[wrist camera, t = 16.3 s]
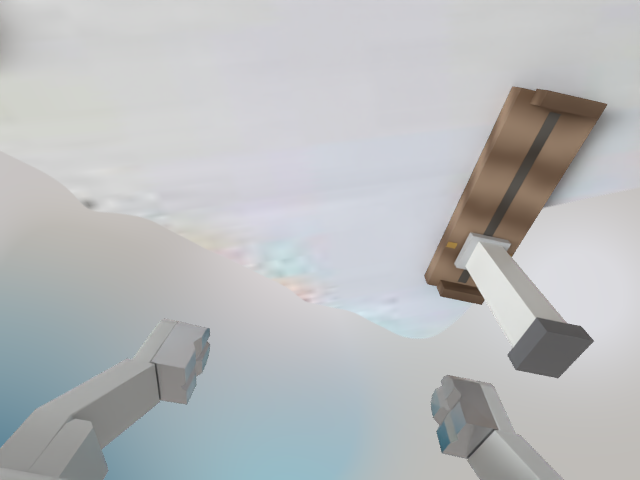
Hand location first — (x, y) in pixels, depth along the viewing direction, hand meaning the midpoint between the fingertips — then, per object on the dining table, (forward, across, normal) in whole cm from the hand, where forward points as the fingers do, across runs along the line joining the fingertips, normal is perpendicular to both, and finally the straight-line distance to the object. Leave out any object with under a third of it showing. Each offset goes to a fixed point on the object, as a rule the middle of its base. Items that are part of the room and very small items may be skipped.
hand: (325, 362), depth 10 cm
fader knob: (+29, -21, +9) cm, 37 cm away
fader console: (+31, -21, +3) cm, 38 cm away
